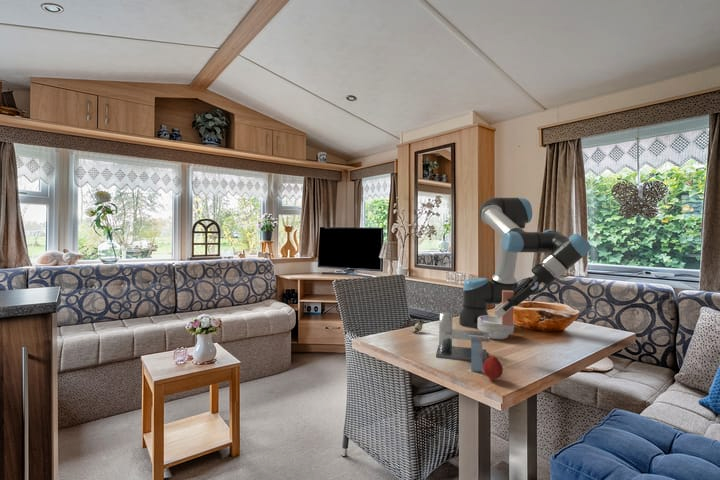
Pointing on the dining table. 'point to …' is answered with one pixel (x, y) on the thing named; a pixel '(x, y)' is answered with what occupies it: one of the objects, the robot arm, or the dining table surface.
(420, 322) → the greenish grey small figure
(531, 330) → the dining table surface
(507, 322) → the pink rectangular block
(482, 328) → the paper bowls
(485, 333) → the grey stand
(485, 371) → the onion
